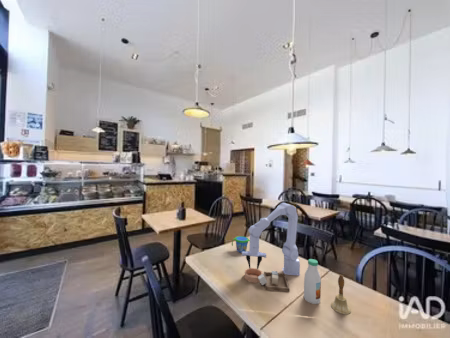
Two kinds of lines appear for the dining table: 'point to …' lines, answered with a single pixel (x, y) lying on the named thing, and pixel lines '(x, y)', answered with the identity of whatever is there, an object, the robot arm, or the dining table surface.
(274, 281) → the beige block
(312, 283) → the milk bottle
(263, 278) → the white block
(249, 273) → the terracotta bowl
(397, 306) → the dining table surface
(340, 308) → the hand bell
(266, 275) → the walnut tray
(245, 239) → the snack cup
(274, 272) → the blue-grey block
